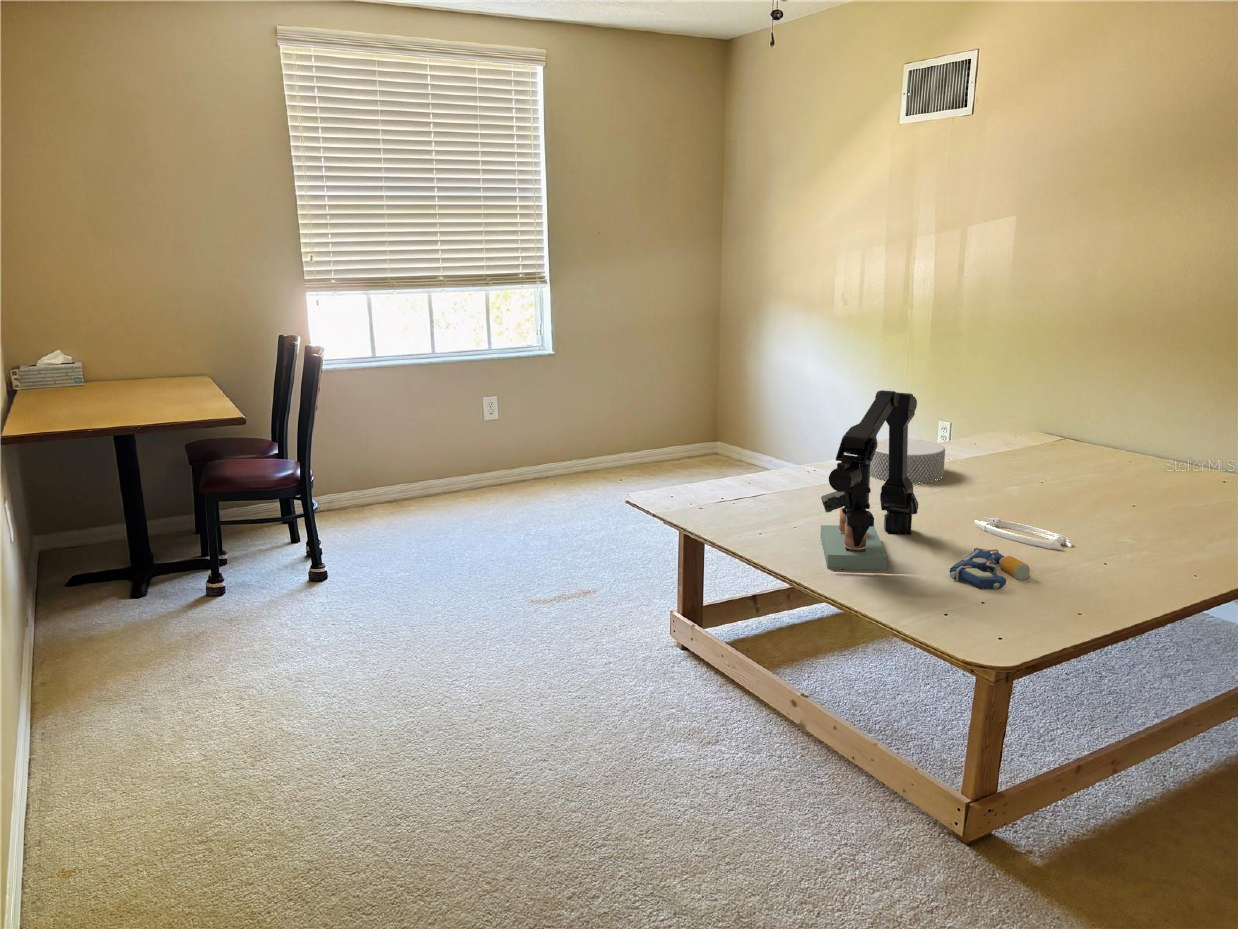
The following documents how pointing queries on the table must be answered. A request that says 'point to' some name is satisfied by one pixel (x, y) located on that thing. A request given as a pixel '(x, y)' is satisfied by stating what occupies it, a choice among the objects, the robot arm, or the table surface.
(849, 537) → the peg
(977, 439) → the table surface
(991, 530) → the door handle
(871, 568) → the board
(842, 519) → the seated peg
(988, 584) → the spray gun
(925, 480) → the knob
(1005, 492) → the table surface
